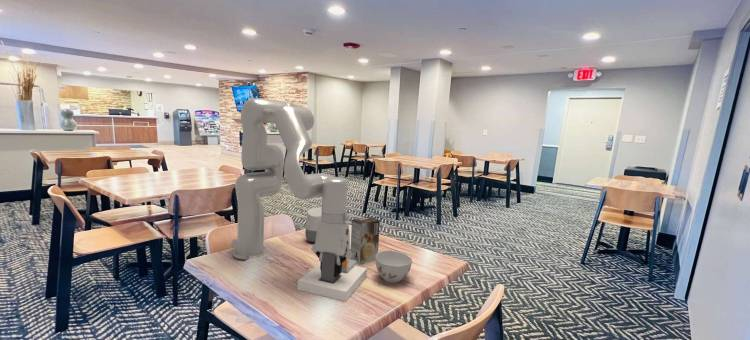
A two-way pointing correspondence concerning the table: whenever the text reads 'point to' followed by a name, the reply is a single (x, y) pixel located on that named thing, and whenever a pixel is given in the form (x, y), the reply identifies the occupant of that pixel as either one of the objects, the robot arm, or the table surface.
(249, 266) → the table surface
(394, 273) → the white bowl
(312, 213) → the smart speaker
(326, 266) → the plug
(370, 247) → the coffee box
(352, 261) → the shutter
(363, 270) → the socket board
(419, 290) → the table surface
